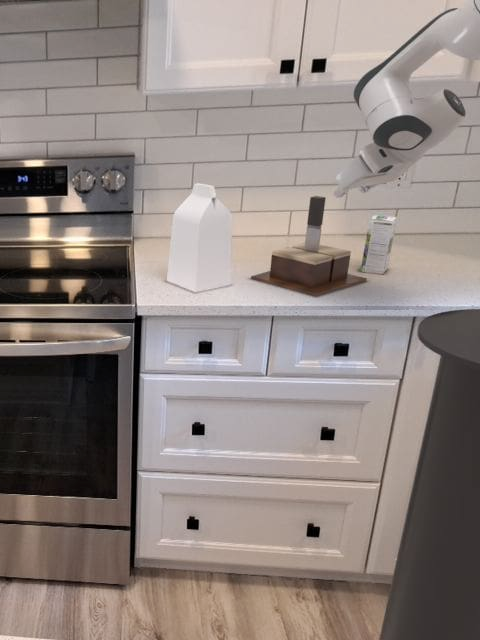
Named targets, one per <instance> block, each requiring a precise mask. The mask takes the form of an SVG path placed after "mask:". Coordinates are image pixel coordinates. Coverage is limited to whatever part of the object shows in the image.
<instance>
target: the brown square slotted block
mask: <svg viewBox="0 0 480 640" xmlns="http://www.w3.org/2000/svg"><path fill="white" fill-rule="evenodd" d="M304 247H305V242H303V243H299V244H295V245H291V246H287V247H283V248H279V249H275V250H272V252H271V260H270V268H269V271H265V272H261V273H257V274H254V275H251V276H250V279H251V280H253V281H257V282H260V283H264V284H267V285H272V286H275V287H279V288H281V289H286V290H289V291H293V292H297V293H299V294H304V295H306V296H307V295H308V296H311V297H316V298H317V297H321V296H324V295H327V294H331V293H333V292H338V291H341V290H344V289H347V288H351V287H353V286H357V285H360V284H363V283H367V278H366V277H363V276H358V275H356V274H355V275H354V274H350V273H349V269H350V268H349V267H350V260H351V254H352V250H347V249H342V248H337V247H333V246H328V245H323V244H319V252H318V253H314V252H310V251H305V250H304Z"/></svg>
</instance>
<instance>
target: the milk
mask: <svg viewBox="0 0 480 640" xmlns="http://www.w3.org/2000/svg"><path fill="white" fill-rule="evenodd" d="M171 224H172V225H171V234H170V244H169V255H168V264H167V275H166V282H168V283H171V284H174V285H176V286H179V287H181V288H184V289H186V290H189V291H191V292H194V293H199V292H203V291H207V290H212V289H217V288H222V287H227V286H231V285H232V249H233V247H232V245H233V215H232V212H231V211H230V210H229V209H228V208H227V207H226V205H224V204H223V202H221V201H220V199H218V198H217V193H216V188H215V186H214V185H211V184H207V183H206V184H205V183H201V182H197V183H194V184H193V187H192V189H191V194H190V195H188V196H187V198H185V200H184V201H183V202H182V203H181V204H180V205H179V206H178V207H177V209H175V211H174V213H173V215H172V223H171Z"/></svg>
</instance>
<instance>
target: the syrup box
mask: <svg viewBox="0 0 480 640" xmlns="http://www.w3.org/2000/svg"><path fill="white" fill-rule="evenodd" d="M397 221H398V217H397V216H390V215H386V214H385V215H384V214H376V215H373V216H372V217H371V218H370V219H369V222H368V227H367V232H366V237H365V243H364V248H363V255H362V260H361V265H360V272H361V273H366V274H377V275H384V274H385V273H386V271H387V270H388V267H389V262H390V257H391V251H392V247H393V241H394V235H395V231H396V226H397Z"/></svg>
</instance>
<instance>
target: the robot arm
mask: <svg viewBox="0 0 480 640" xmlns="http://www.w3.org/2000/svg"><path fill="white" fill-rule="evenodd" d="M444 49H445V50H447V51H448V52H450V53H452V54H453V55H456V56H458V57H461V58H463V59H468V60H471V61H472V60H473V61H480V0H468V1H467V2H466V3H464V4H463V5H461V6H460V7H454V8H453V7H452V8H449V9H447V10H444V11H443V12H441V13H439V14H438V15H437V16H435V17H434V18H433V19H431V20H430V21H429V22H428V23H426V24H425V25H424V26H423V27H422V28H421V29H419V30H418V31H417V32H416V33H414V35H412V37H410V38H409V39H408V40H407V41H406V42H404V43H403V44H402V45H401V46H399V48H398V49H396V50H395V51H394V52H393V53H392V54H390V55H389V56H388V57H387V58H386V59H385V60H384V61H382V62H381V63H380V64H378V65H377V66H374V67H373V68H371V69H370V70H369V71H368V72H366V73H365V74H364V75H363V76H362V77H361V78H360V79H359V80H358V82H357V83H356V85H355V87H354V89H353V99H354V100H355V103H356V105H357V107H358V109H359V110H360V112H361V116H363V120H364V123H365V126H366V127H367V129H368V133H369V135H370V137H371V139H372V140H373V142H372V143H369V144H367V145H364V146H363V147H362V148H361V149H360V150H359V151H358V152H359V155H357V156H355V157H354V158H353V159H352V160H350V161H349V162H348V163H347V164H346V165H345V166H344V167H343V168H342V169H341V170H340V171H339V172H338V173H337V174H336V176H335V178H334V179H335V182H336V184H337V186H338V187H337V188H336V189H335V190H334V191H333V195H334V197H335V198H336V199H339V198H343V197H344V196H345V195H346V194H347V191H349V190H353V189H358V190H359V191H360V193H362V194H365V193H368V192H370V191H371V189H373V188H375V187H377V186H378V185H381V184H385V183H389V182H394V181H396V180H398V179H399V178H400V177H401V176H402V175H404V174H405V173H406V172H407V171H408V170H409V169H410V168H411V167H413V166H414V165H415V164H416V163H417V162H419V161H420V160H421V159H422V158H423V157H424V156H425V154H426V153H427V152H428V151H429V150H431V149H433V148H435V147H437V146H438V145H439V144H441V143H442V142H443V141H445V140H446V139H447V137H449V136H450V135H451V134H452V133H453V132H454V131H455V130H457V128H458V127H459V126H460V125H461V124H462V123H463V121H464V119H465V117H466V109H465V107H464V104H463V103H462V100H461V99H460V98H459V97H458V96H457V94H456V93H455V92H453V91H452V90H449V89H446V88H443V89H441V90H439V91H438V92H436V93H434V94H433V95H432V96H428V97H425V98H414V96H413V93H412V91H411V89H410V78H411V76H412V74H413V73H414V72H415V71H417V70H418V69H420V68H421V67H422V66H423V65H424V64H425V63H427V62H428V61H429V60H431V58H433V57H434V56H435V55H436V54H438V53H439V52H441V51H442V50H444Z"/></svg>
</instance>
